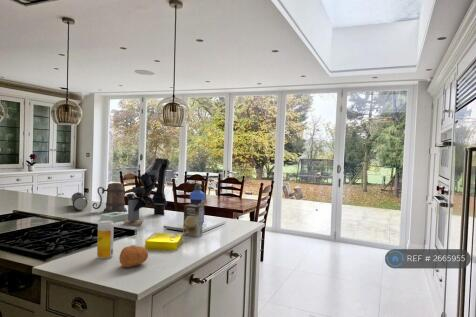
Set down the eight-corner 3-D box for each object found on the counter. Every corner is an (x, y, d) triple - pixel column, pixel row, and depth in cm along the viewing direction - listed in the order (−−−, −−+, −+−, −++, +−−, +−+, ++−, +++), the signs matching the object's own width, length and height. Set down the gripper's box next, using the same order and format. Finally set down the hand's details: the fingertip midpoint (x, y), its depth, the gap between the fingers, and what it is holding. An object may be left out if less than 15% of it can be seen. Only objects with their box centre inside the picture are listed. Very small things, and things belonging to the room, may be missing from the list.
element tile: (153, 241, 163) (153, 231, 163) (183, 242, 163) (183, 233, 162) (143, 250, 148) (143, 239, 148) (176, 251, 148) (176, 241, 147)
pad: (142, 222, 202) (143, 219, 202) (140, 225, 192) (140, 223, 192) (126, 222, 200) (126, 219, 200) (123, 226, 191) (123, 223, 191)
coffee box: (182, 235, 175) (183, 205, 174) (187, 232, 181) (188, 203, 180) (197, 237, 172) (198, 206, 171) (202, 234, 178) (203, 205, 177)
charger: (134, 218, 199) (134, 199, 199) (138, 219, 197) (139, 200, 197) (127, 220, 195) (128, 200, 195) (132, 221, 193) (132, 201, 193)
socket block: (116, 217, 212) (116, 211, 212) (128, 220, 206) (128, 213, 206) (100, 220, 202) (100, 214, 202) (112, 223, 196) (112, 216, 196)
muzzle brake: (84, 204, 256) (84, 191, 255) (87, 211, 231) (88, 196, 231) (70, 205, 251) (71, 192, 251) (72, 212, 227) (73, 197, 226)
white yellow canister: (100, 254, 139) (100, 219, 138) (114, 254, 139) (115, 220, 139) (94, 259, 132) (95, 223, 132) (110, 259, 133) (111, 223, 133)
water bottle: (186, 224, 201) (187, 183, 200) (193, 221, 209) (195, 182, 209) (199, 225, 197) (200, 184, 197) (206, 222, 206) (208, 183, 205)
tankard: (125, 208, 245) (125, 182, 245) (129, 212, 231) (130, 184, 230) (91, 210, 234) (91, 182, 233) (93, 214, 219) (94, 185, 219)
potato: (115, 264, 128) (115, 245, 128) (143, 259, 135) (143, 241, 135) (123, 271, 121) (123, 251, 121) (151, 265, 128) (152, 246, 128)
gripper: (128, 180, 204) (113, 200, 195) (150, 183, 194) (135, 203, 185) (138, 192, 211) (124, 211, 202) (159, 194, 201) (145, 215, 192)
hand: (131, 210), depth 195 cm, fingers closed on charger, 4 cm apart
